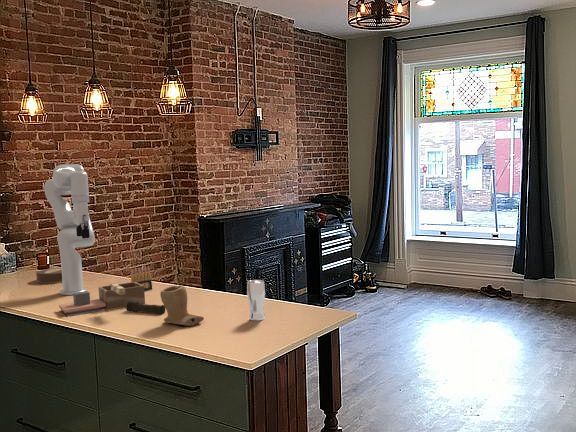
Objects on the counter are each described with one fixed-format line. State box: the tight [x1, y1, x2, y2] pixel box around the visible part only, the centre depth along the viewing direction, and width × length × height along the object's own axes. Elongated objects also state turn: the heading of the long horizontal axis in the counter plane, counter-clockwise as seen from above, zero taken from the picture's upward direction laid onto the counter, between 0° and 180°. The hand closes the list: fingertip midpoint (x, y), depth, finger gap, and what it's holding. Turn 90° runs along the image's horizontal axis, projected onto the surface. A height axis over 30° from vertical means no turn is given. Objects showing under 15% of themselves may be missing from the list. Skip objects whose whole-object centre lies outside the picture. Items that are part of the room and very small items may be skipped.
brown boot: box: [160, 284, 205, 327], centre depth 245 cm, size 15×12×15 cm
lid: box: [58, 291, 106, 314], centre depth 274 cm, size 12×17×7 cm
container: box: [35, 267, 63, 285], centre depth 346 cm, size 20×20×6 cm
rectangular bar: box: [110, 282, 125, 295], centre depth 264 cm, size 14×2×2 cm, turn 32°
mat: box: [61, 307, 105, 317], centre depth 274 cm, size 14×15×1 cm
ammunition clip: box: [130, 265, 153, 292], centre depth 309 cm, size 11×2×12 cm, turn 130°
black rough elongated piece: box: [125, 301, 166, 315], centre depth 266 cm, size 19×4×5 cm, turn 64°
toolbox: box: [98, 281, 146, 311], centre depth 283 cm, size 12×17×8 cm
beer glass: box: [246, 279, 266, 322], centre depth 248 cm, size 7×7×15 cm
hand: (83, 237), depth 285 cm, fingers open, 9 cm apart
